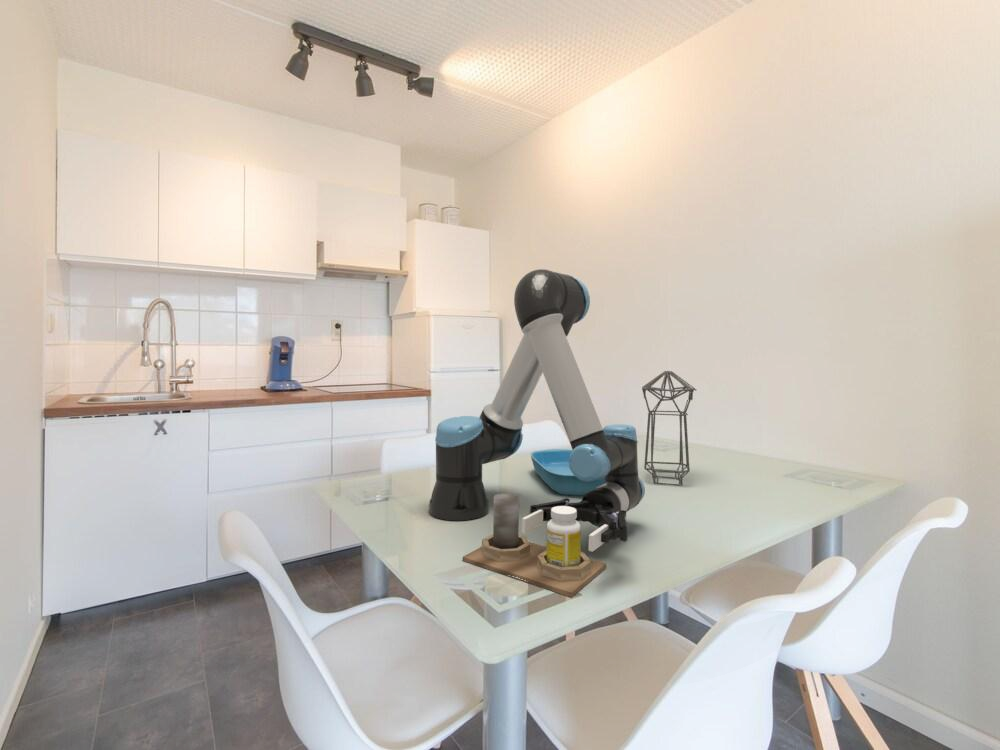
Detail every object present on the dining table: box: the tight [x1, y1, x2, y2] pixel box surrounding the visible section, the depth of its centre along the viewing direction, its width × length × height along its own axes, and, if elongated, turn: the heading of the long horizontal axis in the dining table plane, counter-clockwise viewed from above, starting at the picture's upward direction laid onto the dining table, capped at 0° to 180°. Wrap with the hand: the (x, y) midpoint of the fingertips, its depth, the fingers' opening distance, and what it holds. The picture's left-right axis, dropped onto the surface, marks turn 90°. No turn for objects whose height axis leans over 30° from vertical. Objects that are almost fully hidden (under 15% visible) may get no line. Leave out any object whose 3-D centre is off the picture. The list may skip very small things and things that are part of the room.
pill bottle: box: [546, 506, 582, 567], centre depth 89 cm, size 6×6×11 cm
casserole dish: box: [530, 448, 605, 496], centre depth 152 cm, size 37×22×7 cm, turn 11°
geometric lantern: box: [641, 370, 697, 486], centre depth 154 cm, size 16×16×35 cm
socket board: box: [462, 492, 607, 598], centre depth 93 cm, size 24×14×12 cm, turn 54°
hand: (555, 534), depth 87 cm, fingers open, 13 cm apart
